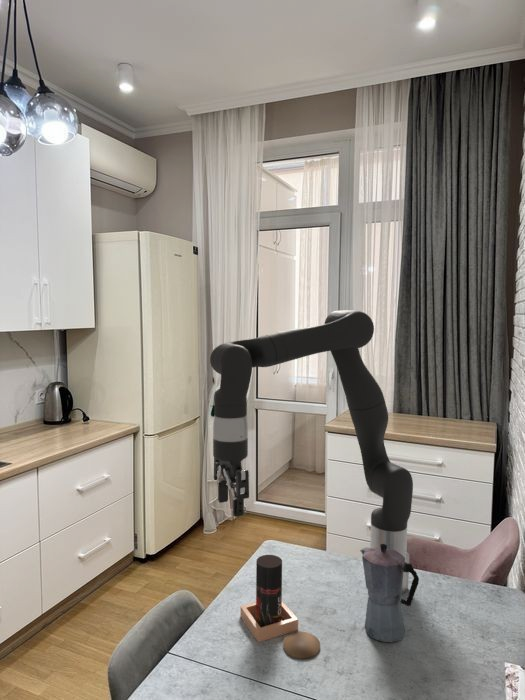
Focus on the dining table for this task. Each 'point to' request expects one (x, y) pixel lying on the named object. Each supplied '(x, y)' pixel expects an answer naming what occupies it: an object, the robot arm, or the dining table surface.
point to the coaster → (301, 645)
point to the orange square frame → (270, 630)
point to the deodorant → (268, 590)
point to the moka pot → (386, 592)
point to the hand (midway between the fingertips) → (230, 508)
